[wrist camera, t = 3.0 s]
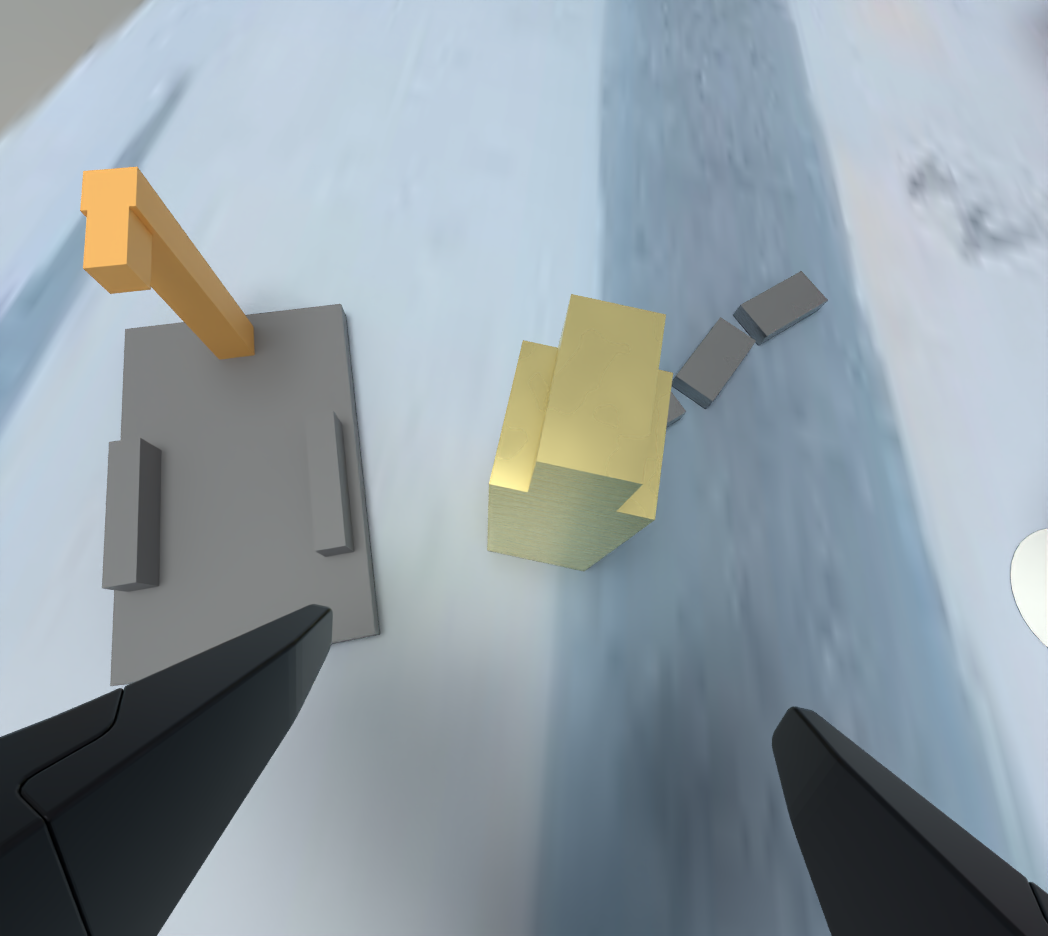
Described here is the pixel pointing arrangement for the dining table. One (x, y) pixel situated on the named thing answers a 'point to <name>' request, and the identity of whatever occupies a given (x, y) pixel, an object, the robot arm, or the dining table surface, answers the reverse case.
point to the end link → (582, 438)
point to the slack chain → (742, 339)
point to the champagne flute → (1032, 582)
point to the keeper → (221, 451)
